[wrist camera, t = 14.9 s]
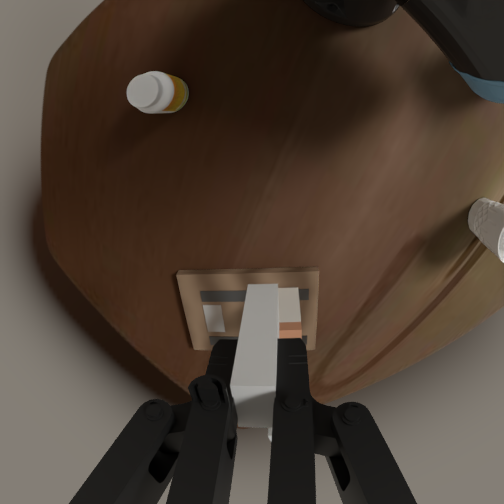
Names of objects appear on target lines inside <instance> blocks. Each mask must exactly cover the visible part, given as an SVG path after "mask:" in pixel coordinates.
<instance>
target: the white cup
mask: <svg viewBox="0 0 504 504" xmlns="http://www.w3.org/2000/svg"><path fill="white" fill-rule="evenodd" d="M468 224H469V229H470V230H471V231H472V232H473V234H474V235H476V236H477V237H478V239H479V240H480V241H481V242H482V243H483V244H484V245H485V246H486V247H487V248H488V249H489V250H490V251H492V252H493V253H494V254H495V255H496V256H497V257H498V258H499V259H500V260H501V261H502V262H503V263H504V205H503V204H501V203H499V202H495V201H493V200H491V199H488V198H485V197H484V198H481V199H478V200H477V201H476V202H475V203H474V204H473V205H472V207H471V209H470V211H469V216H468Z"/></svg>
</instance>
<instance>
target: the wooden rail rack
mask: <svg viewBox="0 0 504 504" xmlns="http://www.w3.org/2000/svg"><path fill="white" fill-rule="evenodd" d="M176 276H177V281H178V285H179V290H180V294H181V299H182V303H183V307H184V312H185V316H186V320H187V324H188V328H189V332H190V336H191V340H192V344H193V348H194V350H212V348H213V346H214V345H215V344H216V343H217V342H218V340H219V339H238V338H239V332H240V327H241V321H242V315H243V310H244V304H245V298H246V293H247V287H248V284H278V288H296V287H298V291H299V302H300V314H301V326H302V341H303V342H304V343H305V345H306V350H315V343H316V328H317V310H318V289H319V268H318V266H316V267H287V268H254V269H214V270H179V271H178V273H177V274H176Z"/></svg>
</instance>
